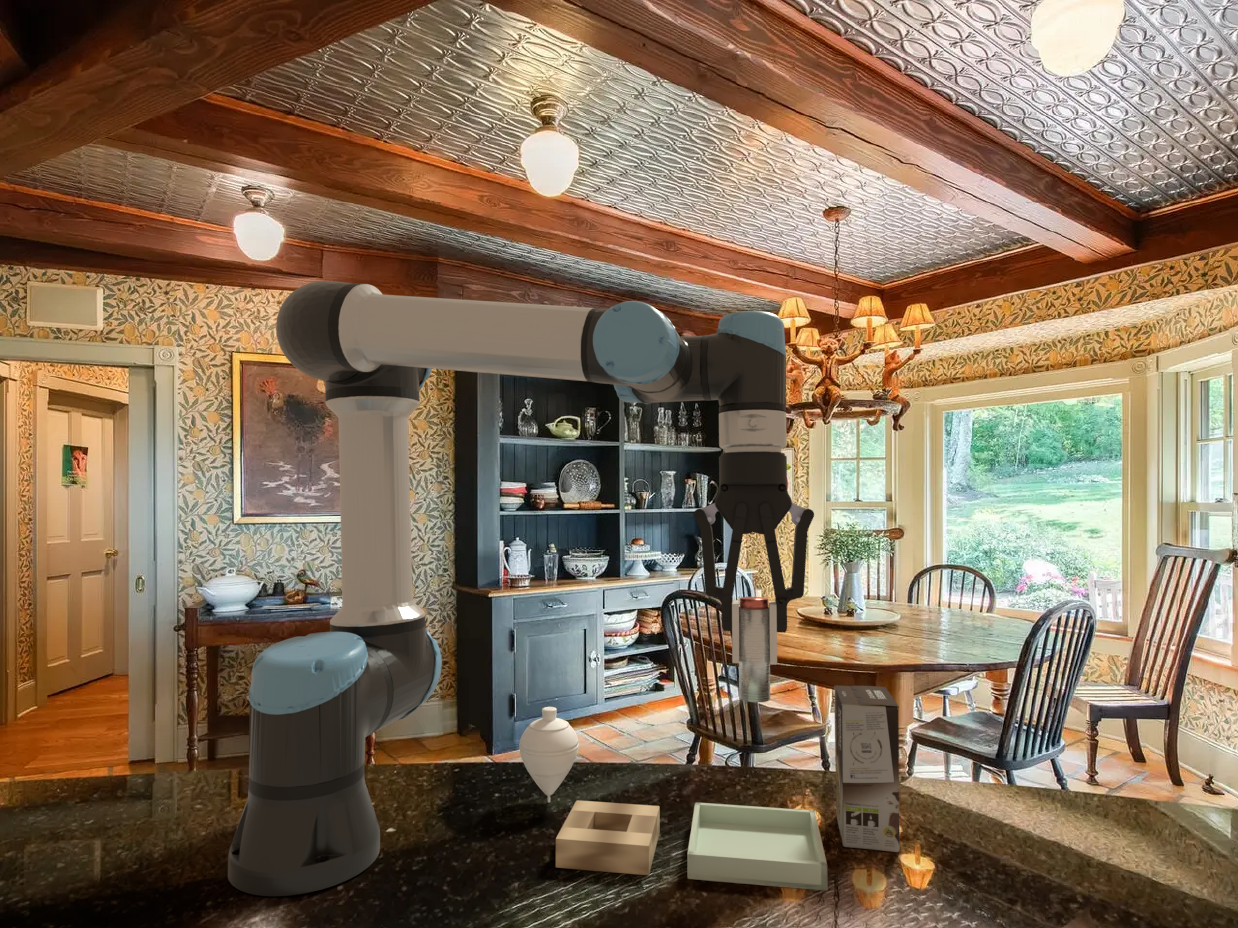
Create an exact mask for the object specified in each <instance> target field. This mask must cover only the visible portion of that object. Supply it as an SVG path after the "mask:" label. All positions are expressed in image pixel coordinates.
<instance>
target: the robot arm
mask: <svg viewBox="0 0 1238 928" xmlns="http://www.w3.org/2000/svg"><path fill="white" fill-rule="evenodd" d="M718 321H719V322H718V324H717V325H718V327H717V329H716V333H711V334H705V335H688V336H684V335H683V336H682V335H681V336H680V334H679V333H678V332H677V330H676V327H675V326H674V325H673V323H672V321H671V320H670V319H669V318H668V316H666V314H665V313H664V312H662V311H660V310H658V309H656V307H654V306H652V305H651V304H649V303H646V302H643V301H638V300H628V301H622V302H619V303H617V304H615V305H613V306H611V307H610V308H607V307H606V308H602V307H601V308H598V307H596V308H595V307H586V306H584V307H583V306H582V307H581V306H570V305H569V306H567V305H554V304H553V305H552V304H539V303H537V304H536V303H522V302H520V303H519V302H509V301H508V302H505V301H491V300H473V299H461V298H460V299H459V298H458V299H457V298H440V297H426V296H414V295H413V296H412V295H411V296H410V295H409V296H408V295H394V294H393V295H392V294H383V293H382V292H381V290H379V288H378V287H376V286H374V285H371V284H370V283H369V284H368V283H356V282H354V283H353V282H343V281H342V282H341V281H331V280H318V281H313V282H309V283H305V284H304V285H301V286H299V287H298V288H296V289H295V290H293V291H292V292H291V293H290V294H289V295H288V296H287V297H286V298H285V300H283V302H282V304H281V306H280V307H279V309H278V314H277V316H276V324H275V330H276V339H277V342H278V345H279V347H280V350H281V352H282V353H283V355H284V357H285V358H286V359H287V360H288V362H289V363H290V364H291V365H292V366H293V367H294V368H295V369H297V370H298V371H300V372H301V373H303V374H305V375H307V376H308V377H311V378H313V379H316V380H320V381H323V382H324V386H325V387H324V390H325V391H324V392H325V395H324V396H325V406H326V407H327V408H328V409H329V410H330V411H331V412H332V413H333V414H334V415H336V417H337V418H338V452H339V454H338V455H339V457H338V459H339V497H340V498H339V501H340V502H339V503H340V504H339V506H340V507H339V508H340V512H339V513H340V547H341V548H340V551H341V553H340V555H341V600H342V601H341V603H342V605H341V607H340V609H339V610H338V611H337V612H336V613H335V614H334V615H333V616H332V618H330V620H329V631H324V632H323V631H321V632H314V633H309V634H307V635H305V636H294V637H291V638H287V639H284V640H281V641H279V642H277V643H274V644H272V645H270V646H269V647H267V648H264V650H263V651H261V652H260V653H259V654H258V656H256V658H255V660H254V661H253V665H252V669H251V681H250V685H249V687H248V702H249V723H248V726H249V727H248V729H249V731H248V732H249V733H248V734H249V735H248V736H249V737H248V738H249V739H248V741H249V742H248V795H247V798H246V802H245V805H244V807H243V811H242V813H241V816H240V819H239V822H238V825H237V827H236V831H235V832H234V835H233V839H232V842H231V844H230V847H229V850H228V856H227V857H228V858H227V859H228V860H227V863H228V864H227V879H228V881H229V883H230V885H231V886H232V887H234V888H235V889H237V890H239V891H241V892H243V893H246V894H250V895H254V896H262V897H286V896H296V895H305V894H309V893H313V892H316V891H320V890H324V889H328V888H330V887H331V888H332V887H334V886H336V885H339V884H342V883H345V882H346V881H348V880H351V879H352V878H354V877H357V876H358V875H359V874H361V873H362V872H364V871H365V870H367V869H368V868H369V867H370V866H372V864H373V863H374V862H375V861H376V859H377V858H378V857H379V854H380V850H381V830H380V829H381V827H380V824H379V821H378V819H377V815H376V812H375V809H374V805H373V802H372V799H371V796H370V793H369V790H368V787H367V784H366V780H365V779H366V778H365V760H366V759H365V758H366V751H365V750H366V738H367V737H369V736H371V735H372V734H374V733H376V732H379V731H380V730H381V729H384V728H385V727H387V726H389V725H391V724H393V723H395V722H396V721H400V720H403V719H405V718H406V717H407V718H408V716H410V715H411V714H413V713H414V712H416V710H417V709H418V708H419V707H420V706H422V705H423V704H425V703H426V702H427V701H428V700H429V698H430V697H431V696H432V694H434V692H435V690H436V688H437V685H438V684H439V680H440V678H441V672H442V666H443V665H442V664H443V662H442V661H443V660H442V653H441V649H440V647H439V643H438V641H437V640H436V638H433V637H432V635H431V632H430V631H429V630H428V629H426V613H425V612H426V611H424V610H423V609H422V608H421V607H420V606H419V605H417V604H416V603H415V601H414V599H413V567H412V566H413V565H412V531H411V529H412V528H411V527H412V525H411V489H410V487H411V486H410V483H411V482H410V454H409V453H410V448H409V447H410V446H409V445H410V443H409V440H410V439H409V418H410V416H411V415H412V413H414V412H415V410H417V409H418V408H419V407H420V402H421V401H420V390H421V389H422V388H423V387H424V384H425V382H426V381H427V380H428V379H429V378H430V376H431V373H432V370H433V369H436V370H446V371H447V370H448V371H449V370H450V371H458V372H459V371H461V372H471V373H482V374H494V375H495V374H496V375H509V376H519V377H520V376H521V377H533V378H544V379H545V378H546V379H557V380H569V381H582V382H590V383H597V384H606V385H608V384H609V385H613V387H614V390H615V391H616V395H617V397H618V398H619V400H621V401H622V402H623V403H635V404H636V403H638V404H645V405H651V404H652V403H653V404H654V403H670V402H671V403H674V402H692V401H694V402H695V401H710V402H711V401H718V405H719V406H718V434H719V435H718V445H719V448H720V449H721V450H724V451H723V453H721V454H720V456H718V463H719V464H718V466H719V467H718V471H719V472H718V473H719V474H718V475H719V478H718V482H719V484H718V485H719V487H718V493H717V495H716V497H715V500H714V503H711V504H709V505H707V506H705V507H702V508H697V509H695V511H694V513H693V515H694V518H695V521H696V523H697V525H698V527H699V529H700V539H701V553H702V564H703V565H702V566H703V577H704V578H703V579H704V592H705V594H706V596H708V597H711V598H712V597H713V598H714V599H717V600H719V601H720V603H721V628H722V630H723V632H731V639H732V640H731V642H732V643H731V645H732V646H731V647H732V651H731V652H732V653H731V654H732V655H731V656H732V657H731V658H732V659H731V661H732V663H731V664H739V607H740V599H739V600H735V599H733V596H734V590H735V584H736V579H737V572H738V566H739V561H740V554H741V550H742V549H741V547H742V542H743V538H744V537H743V536H744V535H748V534H752V533H755V534H759V535H763V538H764V544H765V549H766V553H767V554H766V555H767V559H768V565H769V571H770V577H771V581H772V587H773V592H774V600H768V607H769V635H770V665H772V666H773V665H775V666H776V665H778V633H781V634H782V633H783V634H786V632H787V629H788V605H789V602H791V601H794V600H797V599H801V598H802V597H804V594H805V580H806V579H805V577H806V562H807V548H808V547H807V546H808V531H809V528H810V526H811V524H812V521H813V520H814V517H815V512H814V510H812V509H811V508H805V507H803V506H800V505H797V504H795V503H793V501H792V497H791V496H790V494H789V491H788V459H787V458H788V457H787V456H788V455H786V453H785V452H782V449H784V448H786V447H787V446H788V444H787V440H788V437H787V352H786V337H785V336H786V335H785V323H784V321H783V320H782V319H781V318H780V317H779V316H778V315H776V314H775V313H773V312H768V311H761V310H748V311H747V310H746V311H739V312H736V313H735V312H733V313H728V314H725V315H723V316H722V317H721V318H720V320H718ZM717 512H719V514H720V515H721V516H722V518H723V519H724V521H725V522H726V523H727V524H728V526H729V527H730V528H731V537H730V541H729V542H730V544H729V550H728V554H727V555H728V556H727V561H726V567H725V572H724V573H725V574H724V580H723V585H722V586H719V585H717V575H716V560H715V548H714V547H715V546H714V537H713V536H714V535H713V527H712V525H713V524H714V523H716V522H715V521H716V514H717ZM788 512H789V513H790V514H791V523H792V524H794V525H795V528H794V538H793V552H792V553H793V555H792V567H791V568H792V571H791V584H790V585H791V586H790V587H789V586H788V587H786V584H785V580H784V574H783V569H782V568H783V567H782V563H781V556H780V553H779V546H778V541H777V535H776V529H777V527H778V526H779V525H780V524H781V522H782V521H783V519H784V518H785V517H786V516H787V514H788Z"/></svg>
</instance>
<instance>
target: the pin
mask: <svg viewBox="0 0 1238 928" xmlns="http://www.w3.org/2000/svg"><path fill="white" fill-rule="evenodd" d="M738 676H739V677H738V685H739V686H738V689H739V690H738V691H739V694H738V696H739V699H740V700H741V701H744V702H748V703H765V702H766V703H767V702H769V701H770V700H771V664H770V635H769V599H768V597H761V596H742V597H740V598H739V663H738Z"/></svg>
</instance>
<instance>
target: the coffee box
mask: <svg viewBox="0 0 1238 928" xmlns="http://www.w3.org/2000/svg"><path fill="white" fill-rule="evenodd" d="M833 687H834V688H833V690H834V691H833V693H834V701H833V702H834V753H835V754H834V755H835V756H834V759H835V761H834V762H835V764H834V765H835V801H836V803H835V808H836V809H835V810H836V813H835V814H836V815H835V817H836V819H837V820H836V821H837V824H838V830H839V835H840V838H841V842H842V846H843V847H844V848H854V849H862V850H863V849H865V850H871V851H881V852H882V851H885V852H889V853H890V852H893V853H899V852H900V850H901V849H900V848H901V847H900V846H901V845H900V837H901V836H900V835H901V833H900V832H901V831H900V781H899V780H900V744H899V743H900V737H899V735H900V733H899V732H900V729H899V727H900V726H899V716H900V715H899V709H900V706H899V704H898V703H897V702H896V700H895V699H894V697H893V696H892V694H891V693H890V692H889V690H888V688H887V687H886V686H879V685H878V686H877V685H876V686H875V685H874V686H873V685H837V684H836V685H834V686H833Z"/></svg>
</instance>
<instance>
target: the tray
mask: <svg viewBox="0 0 1238 928" xmlns="http://www.w3.org/2000/svg"><path fill="white" fill-rule="evenodd" d="M825 853H826V852H825V849H824V846H823V839H822V837H821V831H820V828H819V823H818V820H817V815H816V810H812V809H811V810H809V809H797V808H781V807H767V806H754V805H740V804H739V805H738V804H727V803H726V804H722V803H710V802H709V803H707V802H697V801H696V802H695V803H694V808H693V815H692V821H691V830H690V835H689V841H688V847H687V859H686V861H687V865H686V866H687V879H688V880H700V881H709V882H721V883H733V884H746V885H757V886H767V887H779V888H780V887H781V888H789V889H790V888H792V889H803V890H814V891H824V892H825V891H827V892H828V889H829V888H828V863H827V858H826V855H825Z"/></svg>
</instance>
